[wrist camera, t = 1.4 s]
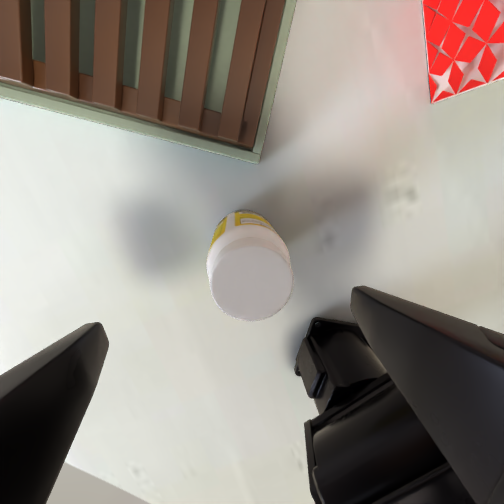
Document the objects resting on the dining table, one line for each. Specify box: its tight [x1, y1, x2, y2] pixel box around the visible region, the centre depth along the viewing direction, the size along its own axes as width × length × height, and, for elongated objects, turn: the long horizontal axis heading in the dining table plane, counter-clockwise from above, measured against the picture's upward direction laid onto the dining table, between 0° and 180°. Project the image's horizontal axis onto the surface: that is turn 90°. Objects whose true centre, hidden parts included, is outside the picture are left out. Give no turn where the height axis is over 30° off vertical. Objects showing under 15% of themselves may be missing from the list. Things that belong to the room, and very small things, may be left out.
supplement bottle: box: [206, 210, 294, 321], centre depth 15 cm, size 5×5×8 cm
